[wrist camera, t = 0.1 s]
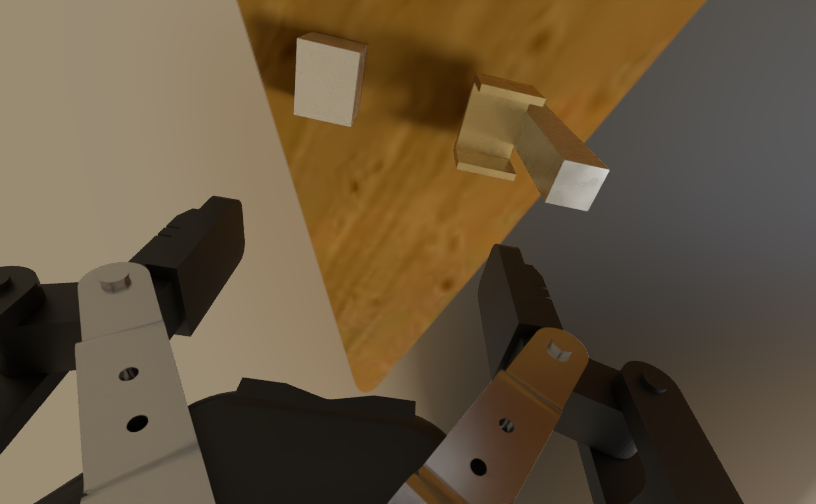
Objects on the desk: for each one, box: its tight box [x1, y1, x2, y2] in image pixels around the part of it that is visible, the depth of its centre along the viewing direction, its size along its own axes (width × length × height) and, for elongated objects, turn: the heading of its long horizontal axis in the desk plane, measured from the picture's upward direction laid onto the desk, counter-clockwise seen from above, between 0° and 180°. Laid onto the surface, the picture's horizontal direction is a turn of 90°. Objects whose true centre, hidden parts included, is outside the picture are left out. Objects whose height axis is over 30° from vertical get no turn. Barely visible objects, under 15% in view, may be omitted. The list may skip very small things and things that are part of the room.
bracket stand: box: [294, 32, 609, 211], centre depth 31 cm, size 7×22×16 cm, turn 78°
